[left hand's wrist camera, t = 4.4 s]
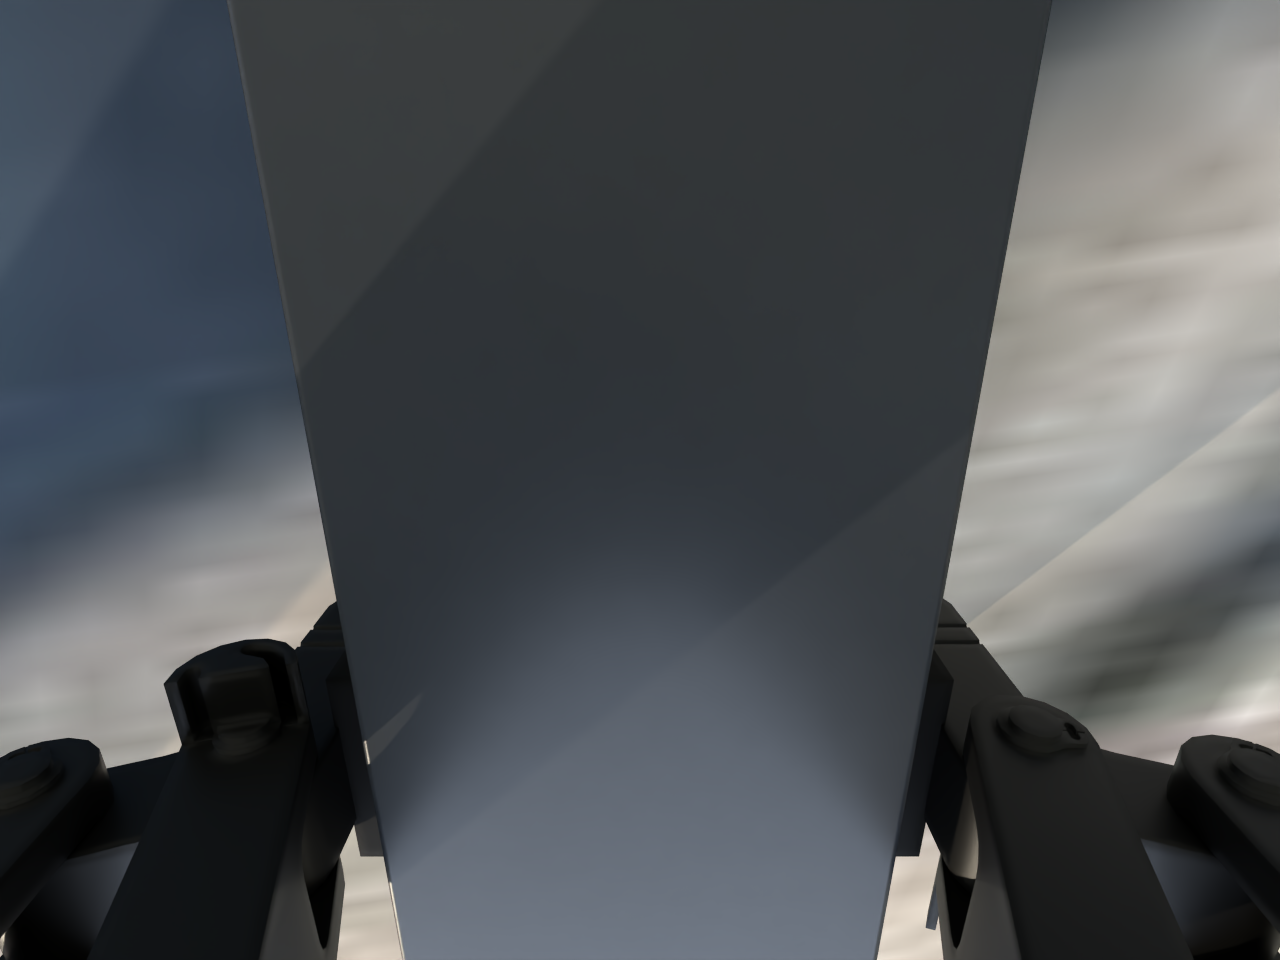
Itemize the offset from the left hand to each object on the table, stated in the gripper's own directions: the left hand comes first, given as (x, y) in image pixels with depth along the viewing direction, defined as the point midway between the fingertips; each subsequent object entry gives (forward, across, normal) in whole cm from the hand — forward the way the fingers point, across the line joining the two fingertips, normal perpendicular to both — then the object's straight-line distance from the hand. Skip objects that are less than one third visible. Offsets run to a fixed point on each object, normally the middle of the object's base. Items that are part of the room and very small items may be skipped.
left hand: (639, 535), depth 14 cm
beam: (+1, 0, -20) cm, 20 cm away
